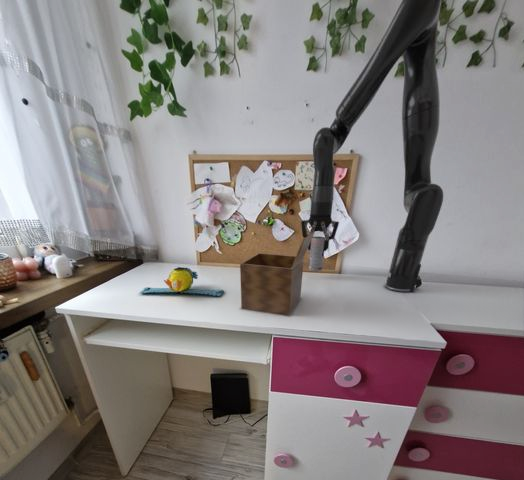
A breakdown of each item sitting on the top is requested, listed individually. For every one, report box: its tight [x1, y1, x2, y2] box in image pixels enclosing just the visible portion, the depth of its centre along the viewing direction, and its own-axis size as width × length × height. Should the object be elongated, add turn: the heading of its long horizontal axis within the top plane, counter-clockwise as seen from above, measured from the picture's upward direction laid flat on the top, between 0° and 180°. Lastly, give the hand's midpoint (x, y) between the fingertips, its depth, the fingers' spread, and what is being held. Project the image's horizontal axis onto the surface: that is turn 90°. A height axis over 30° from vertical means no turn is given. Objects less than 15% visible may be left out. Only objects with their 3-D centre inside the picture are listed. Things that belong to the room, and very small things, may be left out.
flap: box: [292, 231, 316, 266], centre depth 76 cm, size 7×15×1 cm
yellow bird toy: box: [139, 266, 225, 297], centre depth 93 cm, size 28×9×15 cm
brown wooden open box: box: [239, 252, 305, 316], centre depth 84 cm, size 15×15×14 cm
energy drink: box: [308, 236, 326, 272], centre depth 106 cm, size 5×5×12 cm
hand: (317, 250), depth 105 cm, fingers closed on energy drink, 5 cm apart
